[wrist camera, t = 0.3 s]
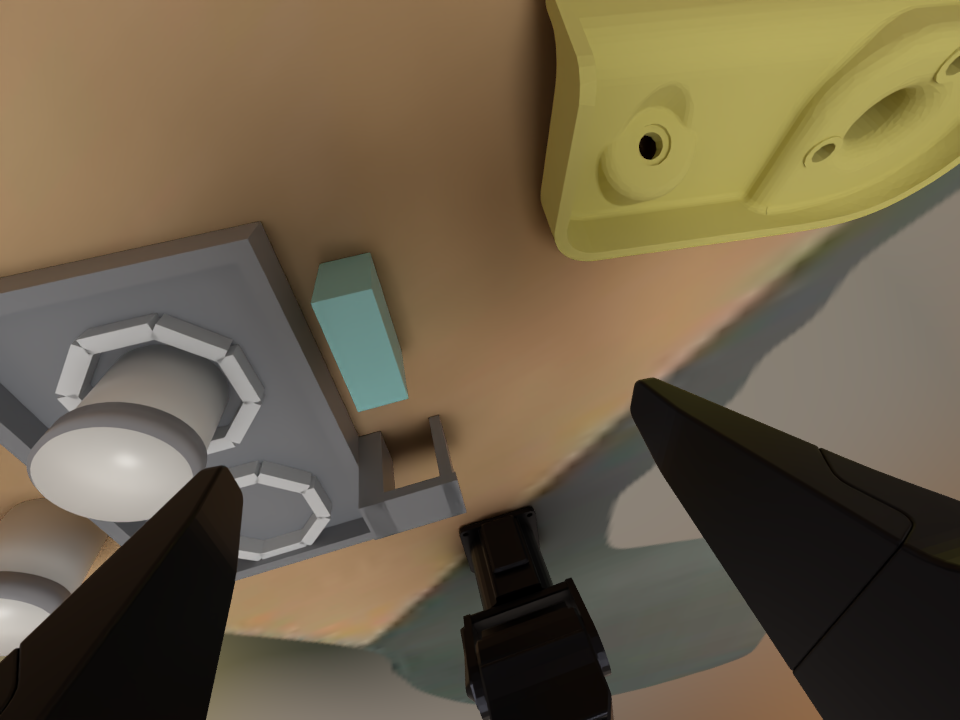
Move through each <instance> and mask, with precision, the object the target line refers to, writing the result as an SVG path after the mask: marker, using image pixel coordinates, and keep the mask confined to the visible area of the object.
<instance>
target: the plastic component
mask: <svg viewBox="0 0 960 720" xmlns="http://www.w3.org/2000/svg"><path fill="white" fill-rule="evenodd" d="M545 1H546V8H547V12H548V14H549V17H550V20H551V23H552V25H553V29H554V35H555V43H556V60H557V70H556V85H555V93H554V100H553V108H552V115H551V122H550V129H549V136H548V144H547V151H546V158H545V165H544V172H543V180H542V187H541V196H540V198H541V204H542V207H543V210H544V212H545V215H546V218H547V221H548V224H549V226H550V229H551V232H552V235H553V238H554V240H555V243H556V245H557V247H558V249H559V251H560V252H562V253H563V254H564V255H565V256H566V257H569V258H571V259H573V260H578V261H596V260H604V259H611V258H618V257H625V256H632V255H639V254H646V253H653V252H660V251H668V250H675V249H682V248H689V247H696V246H703V245H710V244H717V243H724V242H732V241H739V240H746V239H753V238H760V237H767V236H774V235H781V234H788V233H794V232H800V231H806V230H812V229H817V228H822V227H827V226H831V225H836V224H840V223H844V222H847V221H851V220H854V219H857V218H860V217H863V216H866V215H868V214H871V213H874V212H876V211H878V210H881V209H883V208H885V207H888V206H890V205H892V204H894V203H896V202H898V201H900V200H902V199H904V198H906V197H907V196H909V195H911V194H913V193H914V192H916V191H918V190H920V189H921V188H923V187H925V186H926V185H928V184H930V183H931V182H933V181H934V180H936V179H938V178H939V177H940V176H942V175H943V174H945V173H946V172H948V171H949V170H951V169H952V168H954V167H955V166H956V165H958V164H959V163H960V0H545ZM644 135H646V136H650V137H652V139H653V140H654V141H655V142H656V152H655V155H654V157H653V158H652V159H651V160H648V159H645V158H643V157H642V156H641V154H640V152H639V143H640V140H641V138H642V137H643V136H644Z"/></svg>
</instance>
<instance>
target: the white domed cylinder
mask: <svg viewBox="0 0 960 720" xmlns="http://www.w3.org/2000/svg"><path fill="white" fill-rule="evenodd" d="M228 399H229V385H228V382H227V380H226V378H225V376H224V374H223V373H222V372H221V370H220V369H219V368H218V367H217V366H216V365H215V364H214V363H213V362H211V361H210V360H209V359H207V358H204V357H202V356H199V355H196V354H193V353H190V352H188V351H185V350H182V349H179V348H176V347H173V346H171V345H148V346H142V347H139V348H136V349H133V350H131V351H129V352H127V353H126V354H124V355H123V356H121V357H120V358H119V359H118V360H117V361H116V363H115V364H114V365H113V366H112V367H111V368H110V369H109V371H108V372H107V373H106V374H105V375H104V376H103V377H102V379H101V380H100V381H99V382H98V383H97V384H96V385H95V387H94V388H93V389H92V390H91V391H90V392H89V393H88V395H87V396H86V397H85V398H84V399H83V400H82V401H81V403H80V404H79V405H78V406H77V407H76V408H75V409H74V410H72V411H69V412H68V413H66V414H64V415H63V416H61V417H60V418H59V419H58V420H57V421H56V422H55V423H54V424H53V425H52V426H51V427H50V428H49V429H48V430H47V432H46V433H45V434H44V435H43V436H42V437H41V438H40V439H39V440H38V442H37V443H36V444H35V445H34V446H33V448H32V449H31V450H30V453H29V455H28V458H27V463H26V464H27V472H28V475H29V478H30V480H31V481H32V483H33V485H34V486H35V487H36V488H37V490H38V491H39V492H40V493H41V494H42V495H43V496H44V497H45V498H46V499H48V500H49V501H51V502H52V503H53V504H55V505H57V506H58V507H60V508H62V509H64V510H66V511H69V512H71V513H74V514H77V515H79V516H83V517H87V518H91V519H96V520H102V521H110V522H134V521H142V520H148V519H150V518H151V517H152V516H153V515H154V514H155V513H156V512H157V511H159V510H160V509H161V508H162V507H163V506H164V505H165V504H166V503H167V502H168V501H169V500H170V499H171V498H172V497H173V496H174V495H175V494H176V493H177V492H178V491H179V490H180V489H181V488H182V487H183V486H185V485H186V484H187V483H188V482H189V481H190V480H191V479H192V478H193V477H194V476H195V475H196V474H197V473H198V472H199V471H200V470H202V469H205V468H206V465H207V450H208V447H209V445H210V443H211V440H212V438H213V435H214V433H215V431H216V428H217V426H218V423H219V421H220V419H221V416H222V414H223V411H224V409H225V407H226V404H227V402H228Z"/></svg>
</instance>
